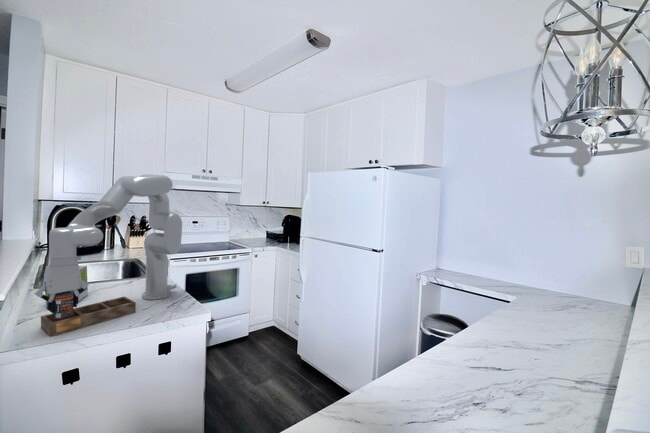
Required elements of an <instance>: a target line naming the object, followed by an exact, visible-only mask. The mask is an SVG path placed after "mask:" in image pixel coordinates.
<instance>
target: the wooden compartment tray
mask: <svg viewBox="0 0 650 433" xmlns="http://www.w3.org/2000/svg"><path fill="white" fill-rule="evenodd" d="M136 305H137V304H136V301H135V300H132V299H130V298H128V297H126V296H122V297H115V298H112V299H109V300H103V301H100V302H96V303H91V304H86V305H82V306H77V307H73V316H72V317H71V318H68V319H64V320H54V319H53V317H52V313H48V314H44V315H41V316H40V329H41V330H43V331H44V333H46V334H47V335H48V336H49V337H55V336H58V335H62V334H64V333H68V332H71V331H75V330H78V329H82V328H86V327H89V326H93V325H96V324H100V323H103V322H104V323H105V322H107V321H111V320H114V319H118V318H121V317H125V316H127V315H128V316H129V315H132V314H135V313H136V309H137V308H136Z"/></svg>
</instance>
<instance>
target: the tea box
mask: <svg viewBox="0 0 650 433" xmlns="http://www.w3.org/2000/svg"><path fill="white" fill-rule="evenodd" d="M79 268H80V274H81V280H83V281H84V282H86V283H87V284H88V265H79ZM81 286H82V284H81ZM88 287H89V285H88V286H87V287H86V288H85V289H84V291H83V292H82V293H81V294H80V296H78V303H79V302H80V301H81V300H83V299H84V298H85V297H86V296H88V294H89V292H88V290H89V289H88ZM77 290H78V289H77ZM44 292H45V291H44ZM70 292H72V291H70ZM44 295H46V296H47V295H48V293H47V292H45V293H44ZM45 308H46V309H47V301H46V300H45Z"/></svg>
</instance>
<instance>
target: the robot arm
mask: <svg viewBox="0 0 650 433" xmlns="http://www.w3.org/2000/svg"><path fill="white" fill-rule="evenodd" d="M173 184H174V183H173V181H172V180H171V178H170V177H168V176H167V175H164V174H163V175H162V174H141V175H140V176H133V175H132V176H131V175H124V176H121V177H119V178H118V179H117V180H115V182H114V184H112V186H111V187H110V188H109V189H108V191H106V193H105V194H104V195H103V196H102V197H101V199H99V201H97V202H95V203H93V204H92V205H90V206H88V207H86V208H85V209H84V210H82V211H81V212H79V213H78V214H77V215H76V216H75V217H74V218H73V220H71V221H70V222H69V223H68V225H67V226H66V227H56V228H55V227H54V228H52V229H50V231H49V232H48V233H49V234H48V243H49V244H48V247H49V248H48V251H49V252H48V256H49V258H48V260H49V262H48V263H49V264H48V265H47V266H45V270H44V273H43V281H42V282H43V285H41V287H40V288H39V289H37V290H36V292H35V293H34V295H35V296H36V297H38V298H40V299H42V300H44V301H45V302H46V301H47V308H46V310H47V311H49V312H50V314H52V313H53V312H54V301H53V298H54V296H55V294H57V293H62V292H66V291H72V293H73V295H74V296H73V297H74V302H73V308H78V305H79V302H78V296H80V294H81V293H82V292H83V291H84V289H85V288H86V287H87V286H88V287H89V286H90V285H89V283H88V282H87V283H86V282H84V281H83V280H81V274H80V268H79V266H80V265H79V263H78V261H81V260H82V256H80V255H79V256H78V255H77V247H93V246H96V245H99V243H101V242H102V241H103V239H104V233H103V232H102V230H101V229H100V228H97V227H95V226H94V225H96V224H97V223H99V222H101V221H102V220H104V219H107V218H110V217H113V216H116V215H118V214H120V213H121V212H122V211H123V209H124V208H125V207H126V206H127V205H128V203H129V202H131V200H132V199H133V197H142V198H143V197H147V198H148V201H149V202H148V204H149V205H148V207H149V209H148V210H149V211H148V212H149V213H148V226H149V228H151V229H153V230H155V231H162V232H151V233H149V234H147V235H146V236H145V238H144V240H143V246H144V251H145V291H144V292H142V294H141V298H142V299H145V300H148V301H149V300H151V301H152V300H153V301H155V300H161V299H162V300H163V299H165V298H168V297H170V296H171V294H172V292H171V290H174V289H177V288H178V286H177V284H171V283H170V284H168V278H169V277H168V276H169V272H168V271H169V258H168V255H171V256H172V255H175V254H177V253H178V252H179V250H180V249H181V247H182V246H181V245H182V235H183V221H182V220H183V219H182V217H181V215H179V213H176V212H173V211H172V212H171V211H170V198H169V196H168V194H169V192H171V190H172V188H173V187H174V185H173ZM81 284H82V286H81ZM88 287H87V288H88ZM77 289H78V290H77ZM44 292H47V293H48V295H47V296H46V295H45V293H44ZM43 293H44V294H43Z"/></svg>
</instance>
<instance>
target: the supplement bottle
mask: <svg viewBox="0 0 650 433" xmlns="http://www.w3.org/2000/svg"><path fill="white" fill-rule="evenodd" d="M73 296H74V295H73V293H72V292H70V291H66V292H62V293H57V294H55V296H54V298H53V301H54V312H53V313H51V314H52V317H53V319H54V320H64V319H68V318H71V317H72V316H73V308H74V307H73V302H74V297H73Z"/></svg>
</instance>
